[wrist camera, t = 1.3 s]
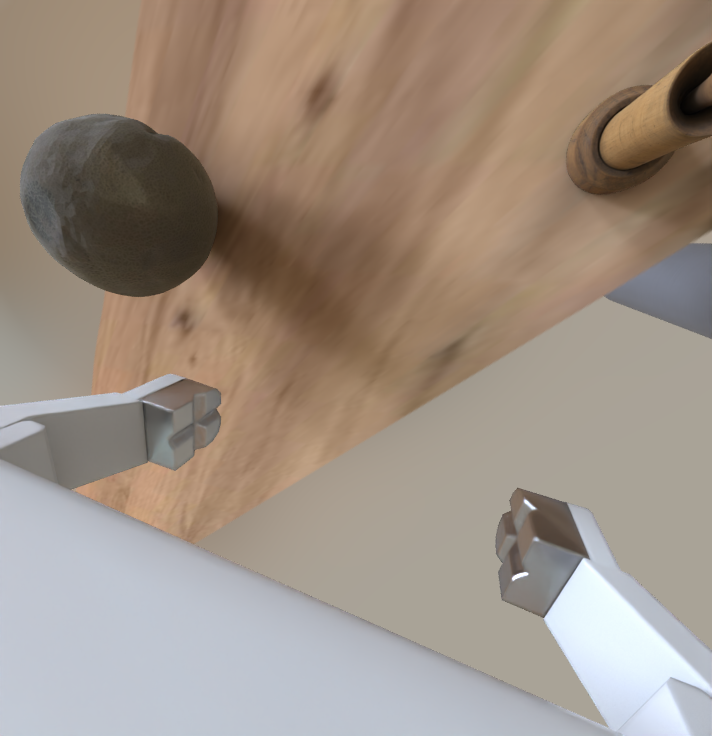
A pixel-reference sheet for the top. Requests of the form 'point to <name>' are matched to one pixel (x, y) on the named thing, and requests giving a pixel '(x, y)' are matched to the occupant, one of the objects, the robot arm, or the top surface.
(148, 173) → the cantaloupe
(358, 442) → the top surface
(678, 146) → the mortar and pestle
